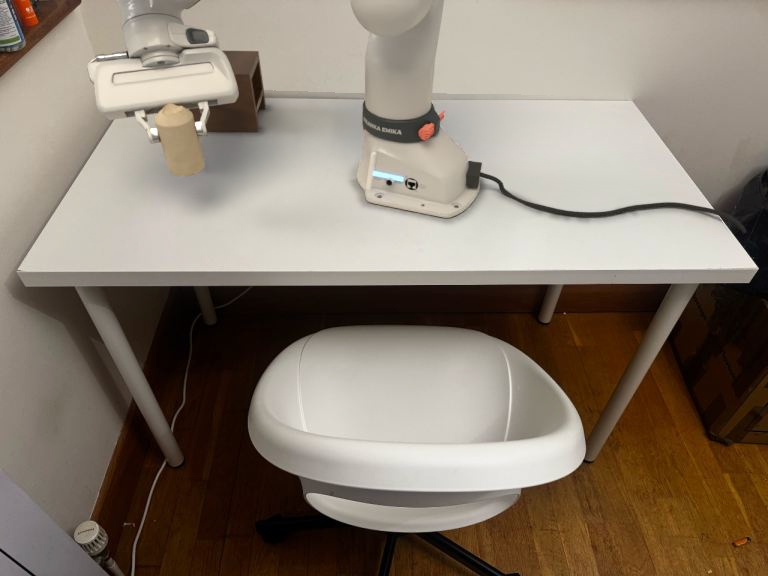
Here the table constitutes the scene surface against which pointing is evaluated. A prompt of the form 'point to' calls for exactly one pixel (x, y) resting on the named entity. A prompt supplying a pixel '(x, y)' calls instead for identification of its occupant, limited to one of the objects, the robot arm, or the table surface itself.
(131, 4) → the robot arm
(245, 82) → the shelf
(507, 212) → the table surface
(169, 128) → the candle
